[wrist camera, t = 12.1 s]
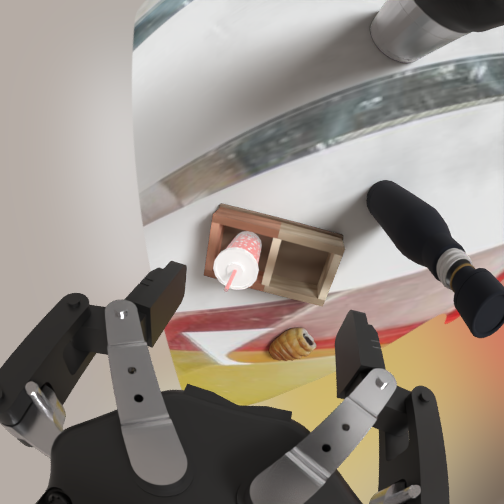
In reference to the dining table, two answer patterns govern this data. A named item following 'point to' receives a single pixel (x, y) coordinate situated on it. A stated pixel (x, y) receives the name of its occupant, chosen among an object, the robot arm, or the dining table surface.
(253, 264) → the beverage cup
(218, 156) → the dining table surface
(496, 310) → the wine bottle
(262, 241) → the cup holder
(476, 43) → the dining table surface
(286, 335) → the pastry
